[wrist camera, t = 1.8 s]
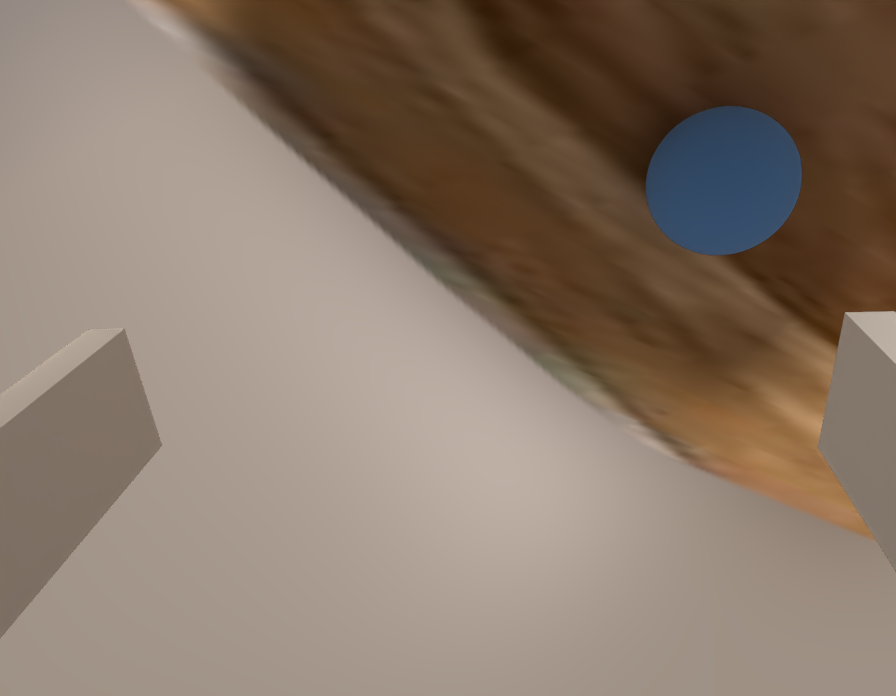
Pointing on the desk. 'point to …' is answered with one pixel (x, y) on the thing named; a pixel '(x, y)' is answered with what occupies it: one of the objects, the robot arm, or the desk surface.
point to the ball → (723, 180)
